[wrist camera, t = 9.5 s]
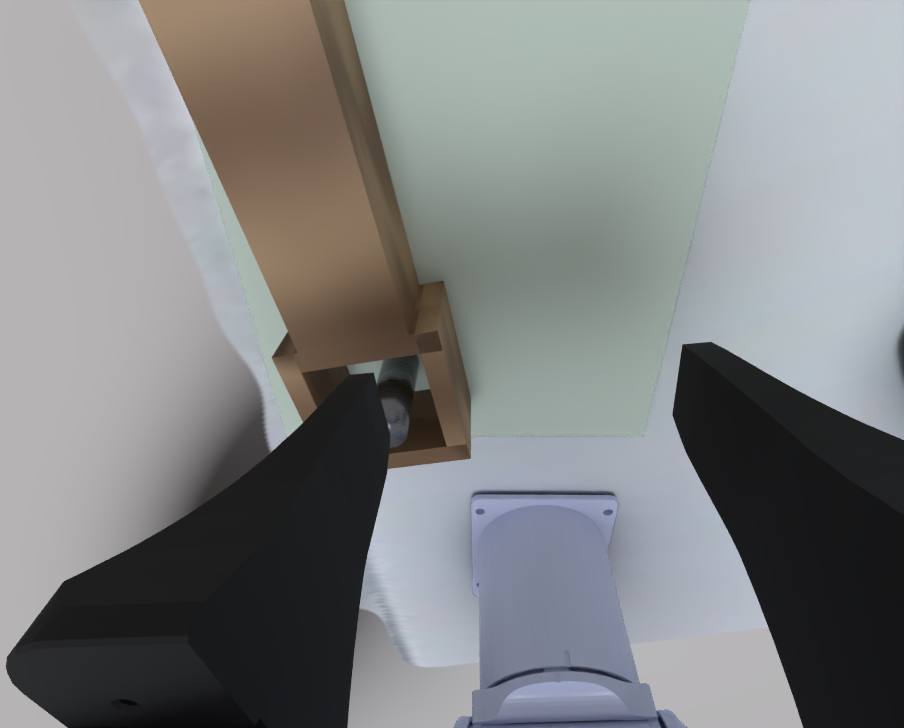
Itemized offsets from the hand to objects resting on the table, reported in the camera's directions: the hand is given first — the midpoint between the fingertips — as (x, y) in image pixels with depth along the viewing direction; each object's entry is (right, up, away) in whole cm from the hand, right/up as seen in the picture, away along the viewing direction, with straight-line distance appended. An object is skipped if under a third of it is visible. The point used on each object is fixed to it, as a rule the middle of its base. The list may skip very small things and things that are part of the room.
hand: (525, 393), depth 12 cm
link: (-6, +7, +6) cm, 11 cm away
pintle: (-4, +1, +10) cm, 11 cm away
